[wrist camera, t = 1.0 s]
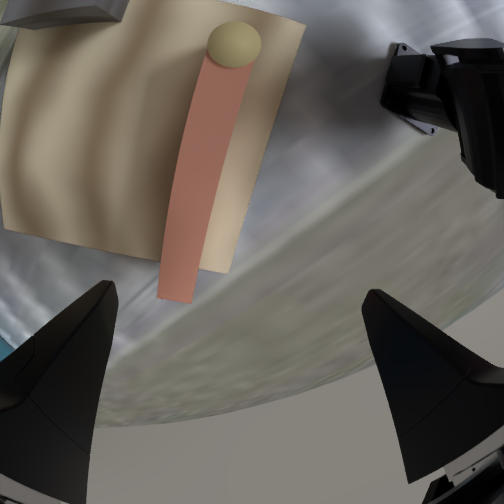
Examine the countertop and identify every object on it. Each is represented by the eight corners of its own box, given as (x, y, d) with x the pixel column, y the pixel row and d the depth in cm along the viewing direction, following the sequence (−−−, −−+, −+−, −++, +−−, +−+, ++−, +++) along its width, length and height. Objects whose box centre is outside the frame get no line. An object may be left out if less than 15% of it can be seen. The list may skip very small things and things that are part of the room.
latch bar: (216, 34, 13) (216, 16, 9) (256, 44, 14) (267, 29, 10) (163, 264, 21) (155, 299, 18) (195, 270, 22) (192, 306, 18)
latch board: (300, 29, 14) (331, 8, 9) (227, 263, 24) (231, 311, 19) (35, 10, 9) (-6, 0, 4) (12, 221, 19) (-22, 254, 14)
